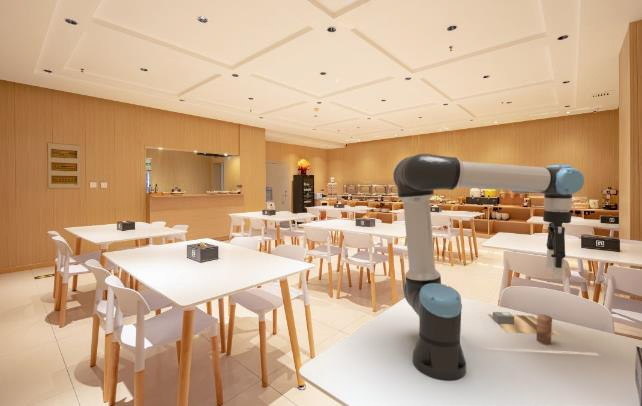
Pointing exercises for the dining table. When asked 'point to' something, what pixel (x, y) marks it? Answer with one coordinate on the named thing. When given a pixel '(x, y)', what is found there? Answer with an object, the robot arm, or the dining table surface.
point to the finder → (503, 318)
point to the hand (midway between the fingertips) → (553, 272)
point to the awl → (544, 329)
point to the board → (522, 325)
